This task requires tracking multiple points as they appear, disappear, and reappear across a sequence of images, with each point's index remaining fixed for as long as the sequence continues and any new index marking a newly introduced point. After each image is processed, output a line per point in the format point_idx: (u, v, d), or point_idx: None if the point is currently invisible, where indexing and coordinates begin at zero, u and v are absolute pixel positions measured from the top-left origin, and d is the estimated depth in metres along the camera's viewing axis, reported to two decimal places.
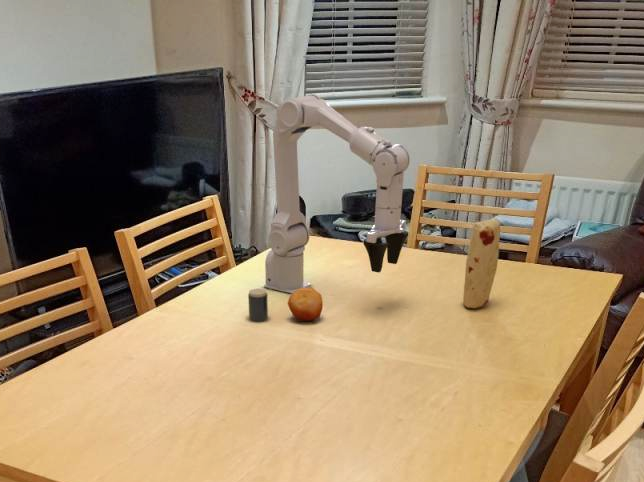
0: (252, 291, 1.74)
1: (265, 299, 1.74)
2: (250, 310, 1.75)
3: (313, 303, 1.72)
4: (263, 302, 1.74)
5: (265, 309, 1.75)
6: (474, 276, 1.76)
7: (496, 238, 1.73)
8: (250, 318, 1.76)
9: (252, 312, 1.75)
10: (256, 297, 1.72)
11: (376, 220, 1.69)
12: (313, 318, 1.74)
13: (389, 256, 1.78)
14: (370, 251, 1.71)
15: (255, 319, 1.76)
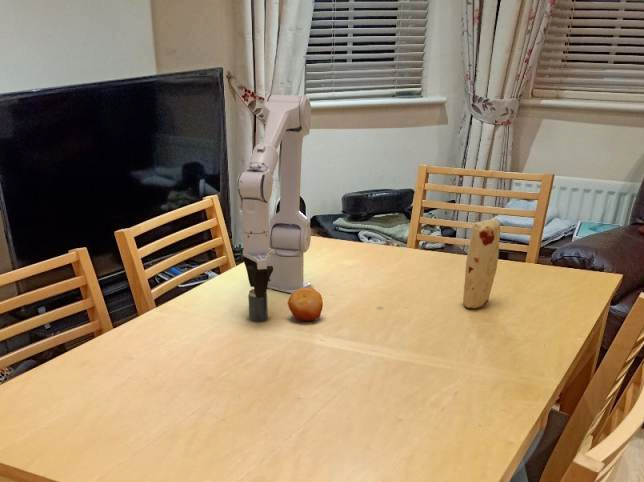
0: (252, 291, 1.74)
1: (265, 299, 1.74)
2: (250, 310, 1.75)
3: (313, 303, 1.72)
4: (263, 302, 1.74)
5: (265, 309, 1.75)
6: (474, 276, 1.76)
7: (496, 238, 1.73)
8: (250, 318, 1.76)
9: (252, 312, 1.75)
10: None
11: (251, 246, 1.66)
12: (313, 318, 1.74)
13: (251, 280, 1.76)
14: (255, 278, 1.67)
15: (255, 319, 1.76)
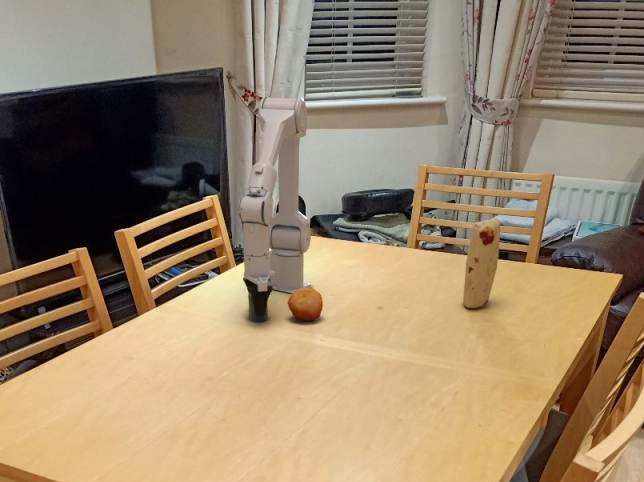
0: None
1: None
2: (250, 310, 1.75)
3: (313, 303, 1.72)
4: None
5: None
6: (474, 276, 1.76)
7: (496, 238, 1.73)
8: (250, 318, 1.76)
9: (252, 312, 1.75)
10: None
11: (252, 269, 1.68)
12: (313, 318, 1.74)
13: None
14: (255, 298, 1.71)
15: (255, 319, 1.76)
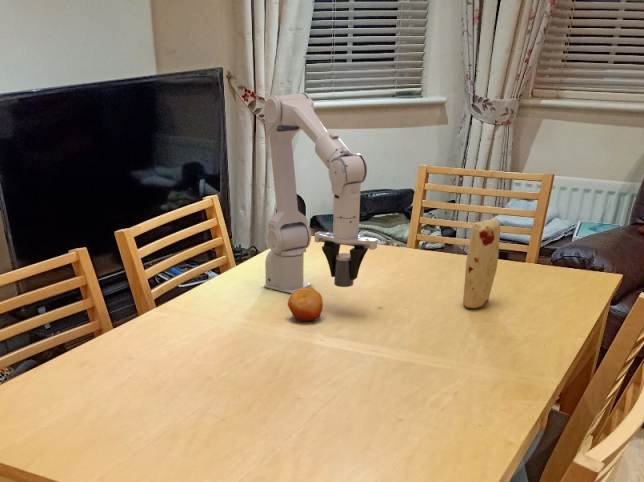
0: (342, 257, 1.70)
1: None
2: (344, 276, 1.72)
3: (313, 303, 1.72)
4: None
5: None
6: (474, 276, 1.76)
7: (496, 238, 1.73)
8: (343, 284, 1.73)
9: (347, 277, 1.72)
10: None
11: (353, 231, 1.66)
12: (313, 318, 1.74)
13: (334, 270, 1.73)
14: None
15: (349, 283, 1.73)
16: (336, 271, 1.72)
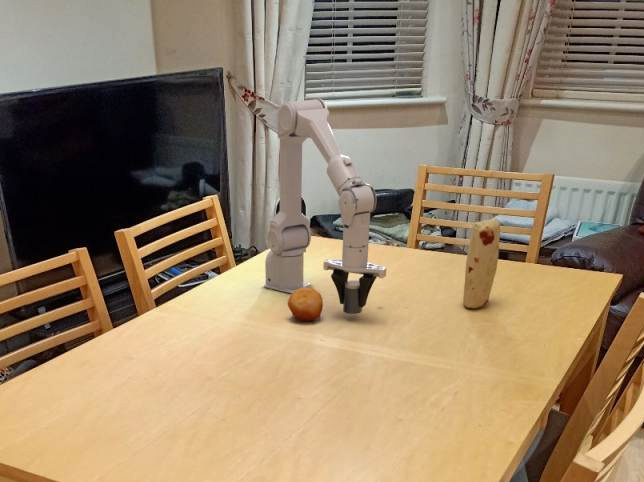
0: (351, 284, 1.71)
1: None
2: (353, 303, 1.73)
3: (313, 303, 1.72)
4: None
5: None
6: (474, 276, 1.76)
7: (496, 238, 1.73)
8: (352, 312, 1.74)
9: (356, 304, 1.73)
10: None
11: (362, 260, 1.67)
12: (313, 318, 1.74)
13: (343, 297, 1.74)
14: None
15: (358, 311, 1.74)
16: (345, 298, 1.73)
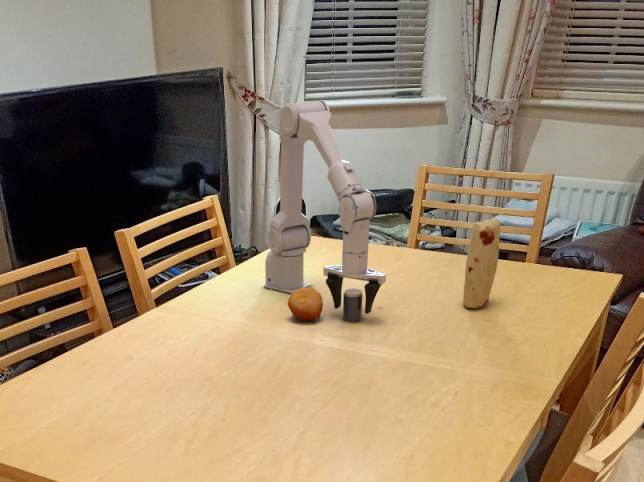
0: (351, 293, 1.72)
1: None
2: (352, 311, 1.74)
3: (313, 303, 1.72)
4: (362, 300, 1.74)
5: None
6: (474, 276, 1.76)
7: (496, 238, 1.73)
8: (351, 320, 1.75)
9: (356, 313, 1.74)
10: (360, 296, 1.73)
11: (362, 266, 1.68)
12: (313, 318, 1.74)
13: (337, 302, 1.76)
14: None
15: (358, 319, 1.75)
16: (345, 307, 1.74)
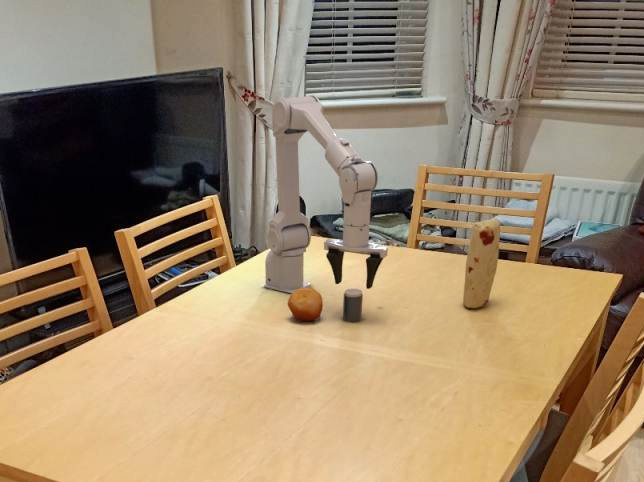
0: (351, 293, 1.72)
1: None
2: (352, 311, 1.74)
3: (313, 303, 1.72)
4: (362, 300, 1.74)
5: None
6: (474, 276, 1.76)
7: (496, 238, 1.73)
8: (351, 320, 1.75)
9: (356, 313, 1.74)
10: (360, 296, 1.73)
11: (363, 239, 1.65)
12: (313, 318, 1.74)
13: (338, 277, 1.73)
14: None
15: (358, 319, 1.75)
16: (345, 307, 1.74)
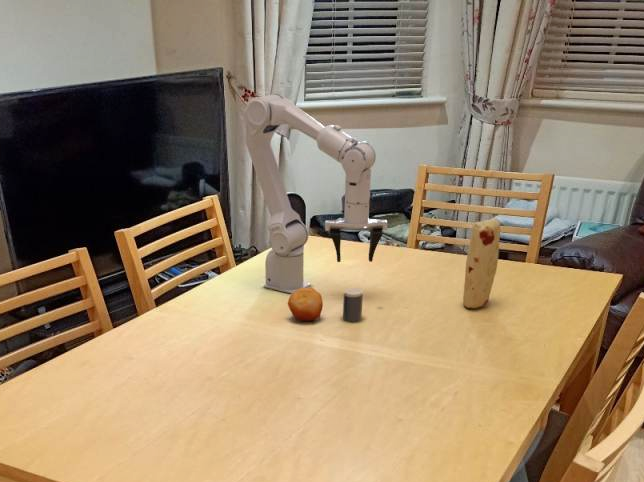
0: (351, 293, 1.72)
1: None
2: (352, 311, 1.74)
3: (313, 303, 1.72)
4: (362, 300, 1.74)
5: None
6: (474, 276, 1.76)
7: (496, 238, 1.73)
8: (351, 320, 1.75)
9: (356, 313, 1.74)
10: (360, 296, 1.73)
11: (367, 215, 1.75)
12: (313, 318, 1.74)
13: None
14: None
15: (358, 319, 1.75)
16: (345, 307, 1.74)
